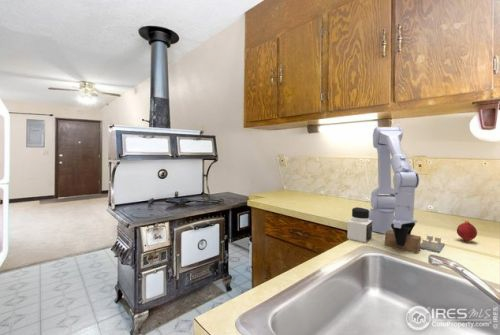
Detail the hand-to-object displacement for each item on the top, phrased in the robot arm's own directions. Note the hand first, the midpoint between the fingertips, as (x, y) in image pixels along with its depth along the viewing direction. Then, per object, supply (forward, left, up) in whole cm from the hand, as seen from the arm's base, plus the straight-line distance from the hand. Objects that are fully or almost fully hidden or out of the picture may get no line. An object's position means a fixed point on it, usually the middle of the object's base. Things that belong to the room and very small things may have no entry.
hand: (402, 243), depth 89 cm
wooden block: (0, 0, -2) cm, 2 cm away
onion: (+15, +25, -2) cm, 29 cm away
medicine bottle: (-14, -1, -2) cm, 15 cm away
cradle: (+7, +9, -2) cm, 12 cm away
